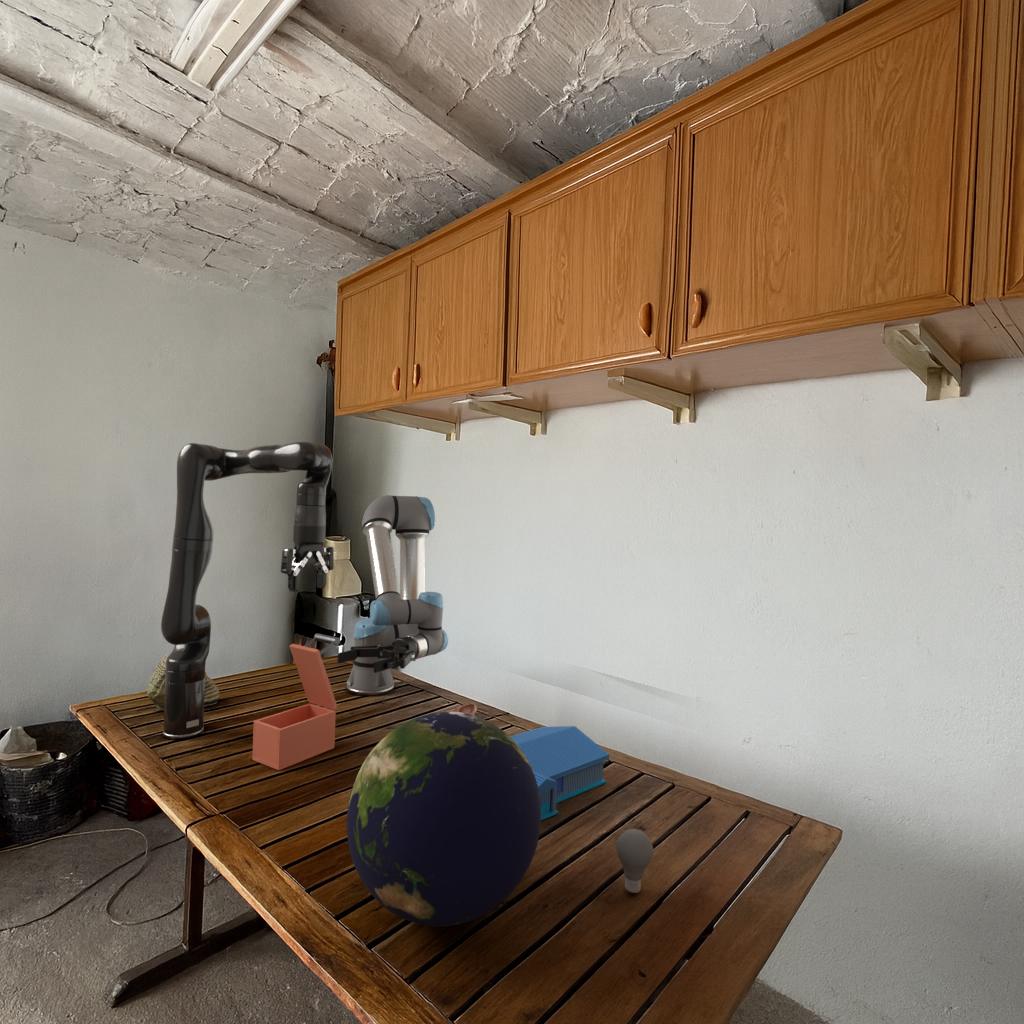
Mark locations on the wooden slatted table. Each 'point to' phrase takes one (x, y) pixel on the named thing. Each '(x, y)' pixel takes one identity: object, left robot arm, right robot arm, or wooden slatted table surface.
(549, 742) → the model building
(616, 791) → the wooden slatted table surface
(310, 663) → the lid
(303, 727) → the chest
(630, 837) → the light bulb
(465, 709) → the anatomical model
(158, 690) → the fossil
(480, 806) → the globe
